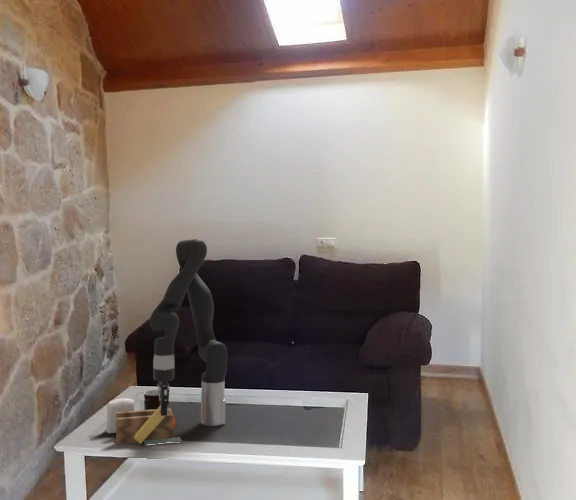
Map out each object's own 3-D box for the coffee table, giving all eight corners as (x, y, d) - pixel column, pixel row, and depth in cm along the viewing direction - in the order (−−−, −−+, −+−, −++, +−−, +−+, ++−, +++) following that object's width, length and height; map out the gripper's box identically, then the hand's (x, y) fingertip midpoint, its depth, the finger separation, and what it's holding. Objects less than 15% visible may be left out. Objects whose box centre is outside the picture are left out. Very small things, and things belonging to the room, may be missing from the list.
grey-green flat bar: (180, 439, 211) (180, 437, 211) (181, 442, 208) (181, 440, 208) (144, 442, 207) (144, 440, 207) (144, 446, 204) (144, 443, 204)
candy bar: (175, 430, 222) (175, 422, 222) (165, 431, 221) (166, 423, 221) (173, 418, 237) (173, 410, 237) (164, 418, 237) (164, 411, 236)
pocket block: (170, 431, 220) (170, 408, 220) (173, 439, 211) (173, 415, 211) (116, 436, 213) (116, 412, 213) (116, 444, 205) (117, 419, 205)
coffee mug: (155, 412, 244) (155, 388, 244) (169, 415, 239) (169, 392, 239) (133, 418, 235) (133, 394, 235) (147, 422, 230) (147, 398, 230)
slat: (167, 409, 210) (160, 404, 209) (168, 412, 206) (162, 407, 205) (140, 440, 207) (133, 435, 206) (140, 443, 203) (134, 438, 202)
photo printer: (131, 427, 224) (132, 395, 224) (135, 430, 221) (135, 398, 220) (105, 431, 218) (105, 399, 218) (108, 434, 215) (108, 402, 215)
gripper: (151, 362, 213) (151, 408, 213) (155, 371, 199) (154, 420, 199) (172, 361, 215) (171, 407, 215) (176, 370, 202) (176, 418, 202)
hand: (163, 413), depth 207 cm, fingers open, 4 cm apart
